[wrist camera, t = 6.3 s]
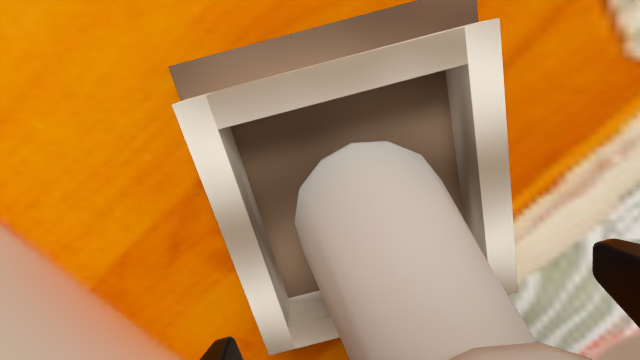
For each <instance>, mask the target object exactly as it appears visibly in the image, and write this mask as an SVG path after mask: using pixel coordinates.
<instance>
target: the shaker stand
mask: <svg viewBox="0 0 640 360" xmlns="http://www.w3.org/2000/svg"><path fill="white" fill-rule="evenodd" d="M169 70H170V73H171V75H172V78H173V81H174V83H175V86H176V89H177V91H178V94H179V97H180V99H181V101H180V102H177V103H175V104H172V107H173V109H174V112H175V114H176V117H177V120H178V122H179V125H180V127H181V130H182V132H183V135H184V138H185V140H186V143H187V145H188V148H189V150H190V153H191V156H192V158H193V161H194V163H195V166H196V168H197V171H198V174H199V176H200V179H201V181H202V184H203V186H204V189H205V192H206V194H207V197H208V199H209V202H210V204H211V207H212V210H213V212H214V215H215V217H216V220H217V222H218V225H219V228H220V230H221V233H222V235H223V238H224V240H225V243H226V245H227V248H228V251H229V253H230V256H231V258H232V261H233V263H234V266H235V269H236V271H237V274H238V276H239V279H240V281H241V284H242V287H243V289H244V292H245V294H246V297H247V299H248V302H249V305H250V307H251V310H252V312H253V315H254V317H255V320H256V323H257V325H258V328H259V330H260V333H261V335H262V338H263V341H264V343H265V346H266V348H267V351H268V353H269V355H273V354H277V353H281V352H285V351H289V350H293V349H296V348H300V347H304V346H308V345H312V344H316V343H320V342H324V341H328V340H332V339H336V338H340V336H339V334H338V331H337V329H336V327H335V324H334V322H333V320H332V317H331V315H330V313H329V310H328V308H327V306H326V303H325V301H324V299H323V296H322V294H321V292H320V289H319V287H318V285H317V282H316V280H315V278H314V275H313V273H312V271H311V268H310V266H309V264H308V261H307V259H306V257H305V254H304V252H303V249H302V246H301V242H300V239H299V236H298V233H297V230H296V226H295V223H294V222H295V215H296V208H297V201H298V194H299V189H300V187H301V185H302V184H303V183H304V182H305V180H306V179H307V178H308V176H309V175H310V174H311V172H312V171H313V170H314V169H315V167H316V166H317V165H318V163H319V162H320V161H321V160H322V159H323V158H325V157H327V156H329V155H330V154H332V153H334V152H336V151H337V150H339V149H341V148H343V147H344V146H346V145H348V144H350V143H355V142H374V141H388V142H391V143H393V144H396V145H398V146H401V147H403V148H406V149H408V150H410V151H413V152H415V153H418V154H420V155H422V156H423V158H424V159H425V160H426V161H427V163H428V164H429V165H430V166H431V168H432V169H433V170H434V171H435V173H436V174H437V175H438V176H439V178H440V179H441V180H442V182H443V184H444V185H445V187H446V189H447V191H448V192H449V194H450V196H451V198H452V199H453V201H454V203H455V205H456V207H457V208H458V210H459V212H460V214H461V215H462V217H463V219H464V221H465V222H466V224H467V226H468V228H469V229H470V231H471V233H472V235H473V236H474V238H475V240H476V242H477V244H478V245H479V247H480V249H481V251H482V252H483V254H484V256H485V258H486V259H487V261H488V263H489V265H490V266H491V268H492V270H493V272H494V274H495V275H496V277H497V279H498V280H499V282H500V283H501V285H502V287H503V288H504V290H505V292H506V293H507V295H508V294H512V293H516V292H518V287H517V272H516V258H515V243H514V228H513V213H512V198H511V183H510V168H509V153H508V138H507V123H506V108H505V93H504V78H503V63H502V48H501V33H500V19H499V18H496V19H491V20H486V21H481V22H478V12H477V0H417V1H413V2H409V3H405V4H402V5H398V6H394V7H390V8H387V9H383V10H379V11H375V12H372V13H368V14H364V15H360V16H357V17H353V18H349V19H345V20H342V21H338V22H334V23H330V24H327V25H323V26H319V27H315V28H311V29H308V30H304V31H300V32H296V33H293V34H289V35H285V36H281V37H278V38H274V39H270V40H266V41H263V42H259V43H255V44H251V45H248V46H244V47H240V48H236V49H233V50H229V51H225V52H221V53H218V54H214V55H210V56H206V57H202V58H199V59H195V60H191V61H187V62H184V63H180V64H176V65H172V66H169Z"/></svg>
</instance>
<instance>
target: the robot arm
mask: <svg viewBox="0 0 640 360" xmlns="http://www.w3.org/2000/svg"><path fill="white" fill-rule="evenodd" d="M592 270H593V275H594V277H595V279H596V280H597V282H598V283H599V284H600V285H601V286H602V287H603V288H604V289H605V290H606V292H607V293H608V294H609V295H610V296H611V297H612V298H613V299H614V300H615V301H616V303H617V304H618V305H619V306H620V307H621V308H622V309H623V310H624V311H625V312H626V314H627V315H628V316H629V317H630V318H631V319H632V320H633V321H634V322H635V323H636V325H637V326H638V327H639V328H640V244H638V243H633V242H629V241H624V240H619V239H607V240H604V241H600V242H597V243H595V244H594V246H593V267H592ZM200 360H243V358H242V356H241V353H240V351H239V348H238V346H237V344H236V341H235V339H234V338H233V337H225V338H221V339H218V340H216V341H215V342H214V343H213V344H212V345H211V346H210V347H209V349H208V350H207V351H206V352H205V354H204V355H203V356H202V357H201V359H200Z"/></svg>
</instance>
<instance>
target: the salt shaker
mask: <svg viewBox="0 0 640 360" xmlns="http://www.w3.org/2000/svg"><path fill="white" fill-rule="evenodd" d="M294 223H295V226H296V230H297V233H298V236H299V239H300V242H301V246H302V249H303V252H304V254H305V257H306V259H307V261H308V264H309V266H310V268H311V271H312V273H313V275H314V278H315V280H316V282H317V285H318V287H319V289H320V292H321V294H322V296H323V299H324V301H325V303H326V306H327V308H328V310H329V313H330V315H331V317H332V320H333V322H334V324H335V327H336V329H337V331H338V334H339V336H340V338H341V341H342V343H343V346H344V348H345V350H346V353H347V355H348V357H349V360H592V359H590V358H587V357H584V356H581V355H578V354H575V353H571V352H568V351H565V350H562V349H558V348H555V347H552V346H549V345H545V344H542V343H539V342H536V340H535V339H534V337H533V335H532V334H531V332H530V331H529V329H528V327H527V326H526V324H525V322H524V321H523V319H522V318H521V316H520V314H519V313H518V311H517V309H516V308H515V306H514V305H513V303H512V301H511V300H510V298H509V296H508V295H507V293H506V292H505V290H504V288H503V287H502V285H501V283H500V282H499V280H498V279H497V277H496V275H495V274H494V272H493V270H492V268H491V266H490V265H489V263H488V261H487V259H486V258H485V256H484V254H483V252H482V251H481V249H480V247H479V245H478V244H477V242H476V240H475V238H474V236H473V235H472V233H471V231H470V229H469V228H468V226H467V224H466V222H465V221H464V219H463V217H462V215H461V214H460V212H459V210H458V208H457V207H456V205H455V203H454V201H453V199H452V198H451V196H450V194H449V192H448V191H447V189H446V187H445V185H444V184H443V182H442V180H441V179H440V178H439V176H438V175H437V174H436V173H435V171H434V170H433V169H432V168H431V166H430V165H429V164H428V163H427V161H426V160H425V159H424V158H423V156H422V155H420V154H418V153H415V152H413V151H410V150H408V149H406V148H403V147H401V146H398V145H396V144H393V143H391V142H388V141H374V142H355V143H350V144H348V145H346V146H344V147H343V148H341V149H339V150H337V151H336V152H334V153H332V154H330V155H329V156H327V157H325V158H323V159H322V160H321V161H320V162H319V163H318V165H317V166H316V167H315V169H314V170H313V171H312V172H311V174H310V175H309V176H308V178H307V179H306V180H305V182H304V183H303V184H302V185H301V187H300V189H299V194H298V201H297V208H296V215H295V222H294Z"/></svg>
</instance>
